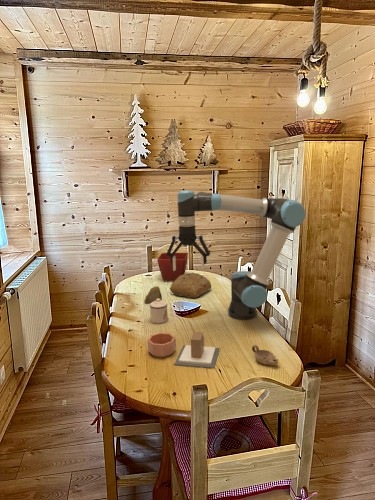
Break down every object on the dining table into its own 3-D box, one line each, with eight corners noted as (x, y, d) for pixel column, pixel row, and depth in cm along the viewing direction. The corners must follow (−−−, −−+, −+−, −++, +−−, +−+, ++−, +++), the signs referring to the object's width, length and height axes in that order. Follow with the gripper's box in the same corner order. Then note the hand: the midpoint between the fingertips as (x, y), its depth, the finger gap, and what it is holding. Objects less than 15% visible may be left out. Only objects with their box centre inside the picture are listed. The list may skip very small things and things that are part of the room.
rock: (142, 302, 212) (159, 299, 211) (141, 287, 216) (158, 285, 215) (147, 307, 222) (163, 304, 221) (146, 293, 225) (162, 291, 224)
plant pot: (162, 274, 271) (161, 252, 268) (188, 274, 269) (188, 252, 266) (158, 283, 253) (157, 259, 249) (186, 283, 251) (185, 259, 247)
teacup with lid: (167, 323, 187) (166, 302, 185) (149, 324, 188) (148, 302, 185) (169, 314, 199) (168, 293, 197) (152, 314, 199) (151, 294, 197)
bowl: (177, 346, 164) (177, 333, 162) (171, 359, 153) (170, 345, 152) (153, 344, 166) (153, 332, 165) (145, 356, 156) (145, 343, 154)
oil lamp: (282, 365, 146) (283, 354, 145) (268, 371, 142) (268, 359, 141) (259, 352, 157) (260, 341, 156) (246, 357, 153) (246, 346, 152)
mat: (219, 349, 160) (219, 348, 160) (213, 368, 145) (213, 367, 145) (183, 346, 164) (183, 345, 164) (174, 365, 148) (174, 364, 148)
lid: (215, 349, 159) (215, 330, 157) (210, 365, 147) (210, 344, 145) (185, 347, 162) (185, 328, 160) (178, 362, 149) (178, 341, 147)
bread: (196, 301, 218) (196, 281, 215) (166, 295, 229) (166, 276, 226) (215, 289, 238) (215, 271, 235) (187, 284, 249) (187, 267, 246)
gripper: (158, 226, 166) (160, 272, 171) (213, 226, 162) (214, 272, 167) (162, 224, 174) (164, 267, 178) (215, 223, 169) (216, 268, 174)
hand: (188, 270), depth 173 cm, fingers open, 13 cm apart
